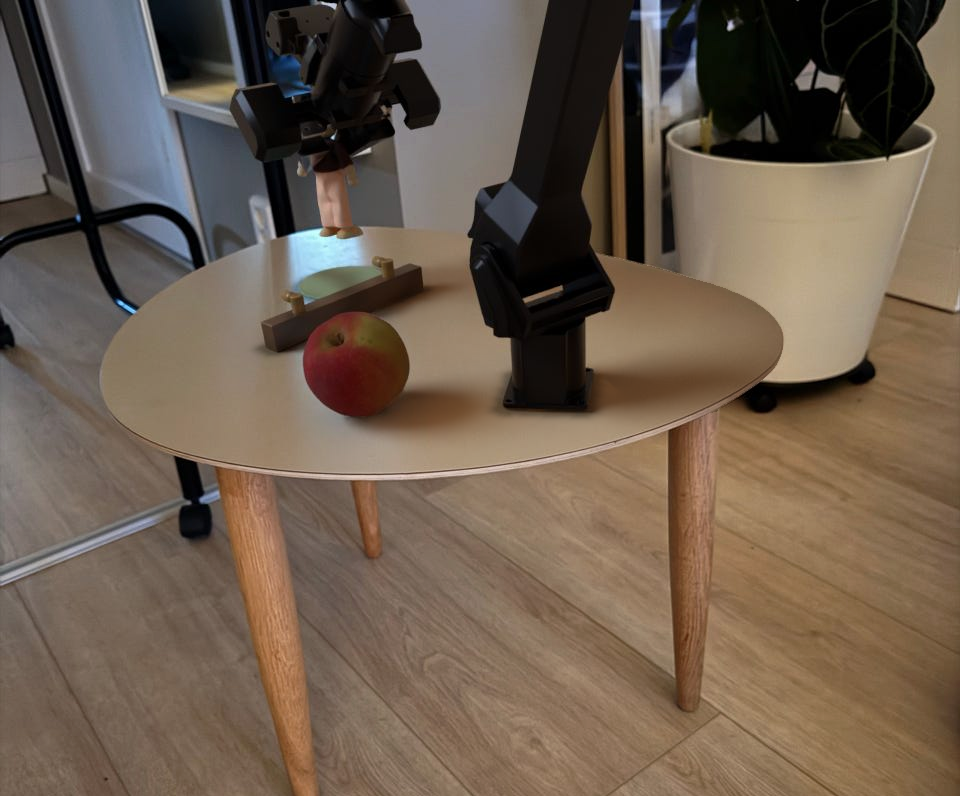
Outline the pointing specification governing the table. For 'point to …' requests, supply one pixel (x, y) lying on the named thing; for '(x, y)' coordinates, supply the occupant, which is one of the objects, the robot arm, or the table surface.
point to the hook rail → (340, 298)
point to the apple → (356, 364)
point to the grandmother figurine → (334, 189)
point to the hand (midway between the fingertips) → (319, 164)
